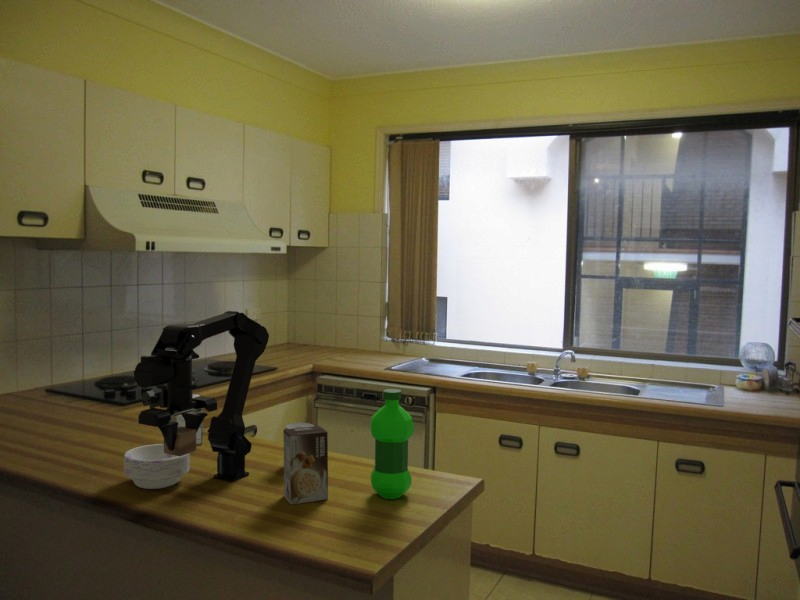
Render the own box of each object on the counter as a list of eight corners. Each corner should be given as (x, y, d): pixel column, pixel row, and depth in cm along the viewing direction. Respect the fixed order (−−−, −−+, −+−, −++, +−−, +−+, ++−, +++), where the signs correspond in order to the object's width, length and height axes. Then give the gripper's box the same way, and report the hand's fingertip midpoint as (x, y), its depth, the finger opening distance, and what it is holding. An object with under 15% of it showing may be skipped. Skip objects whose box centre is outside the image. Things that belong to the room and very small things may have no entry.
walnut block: (196, 450, 152) (196, 429, 152) (179, 456, 147) (179, 434, 147) (180, 447, 154) (180, 426, 154) (163, 453, 150) (163, 431, 149)
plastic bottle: (362, 490, 158) (363, 388, 156) (402, 485, 162) (404, 385, 161) (378, 505, 149) (379, 396, 147) (419, 499, 153) (421, 393, 151)
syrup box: (192, 440, 198) (191, 392, 197) (203, 444, 194) (203, 395, 193) (174, 444, 193) (174, 395, 192) (186, 448, 190) (185, 399, 188)
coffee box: (320, 490, 158) (321, 425, 157) (328, 500, 152) (329, 431, 151) (282, 495, 154) (283, 428, 153) (289, 505, 148) (289, 435, 147)
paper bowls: (200, 474, 168) (199, 443, 167) (172, 496, 153) (172, 462, 152) (143, 471, 170) (143, 440, 169) (111, 492, 155) (110, 459, 154)
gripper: (184, 370, 162) (185, 432, 163) (120, 383, 145) (121, 452, 146) (218, 375, 156) (219, 439, 158) (156, 389, 140) (157, 460, 141)
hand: (180, 447), depth 151 cm, fingers closed on walnut block, 5 cm apart
